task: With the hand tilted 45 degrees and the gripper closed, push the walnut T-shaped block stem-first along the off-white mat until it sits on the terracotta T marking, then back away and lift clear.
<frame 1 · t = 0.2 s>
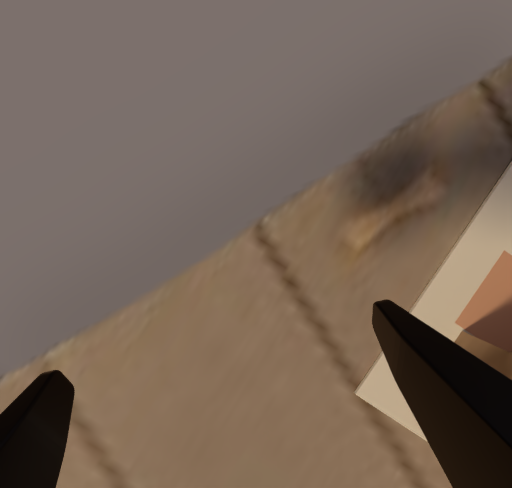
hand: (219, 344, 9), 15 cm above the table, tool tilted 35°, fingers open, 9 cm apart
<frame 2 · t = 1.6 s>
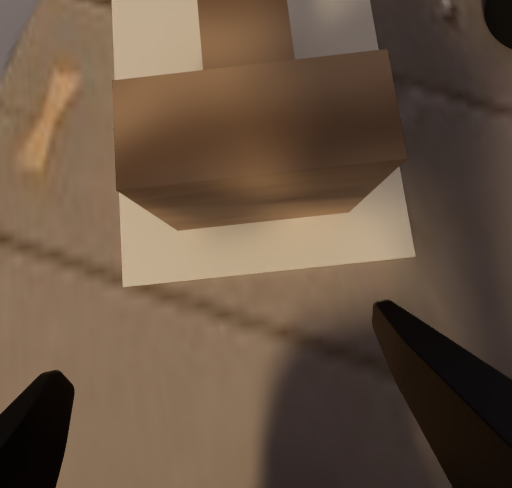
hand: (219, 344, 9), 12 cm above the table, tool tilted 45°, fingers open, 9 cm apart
t block: (252, 121, 23), resting on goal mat
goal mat: (244, 51, 24), on the table
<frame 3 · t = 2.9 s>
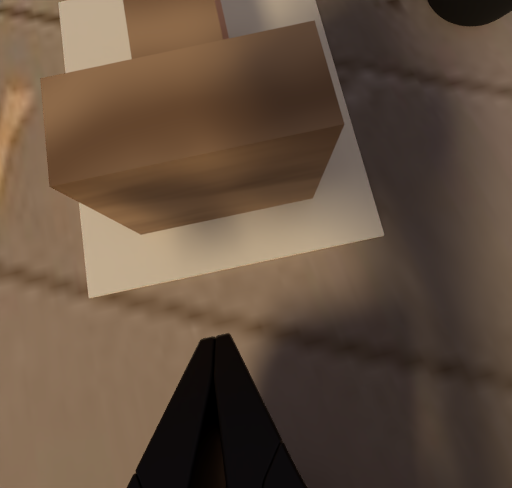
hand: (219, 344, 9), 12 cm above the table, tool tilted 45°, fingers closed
t block: (207, 119, 23), resting on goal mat
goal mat: (194, 52, 24), on the table
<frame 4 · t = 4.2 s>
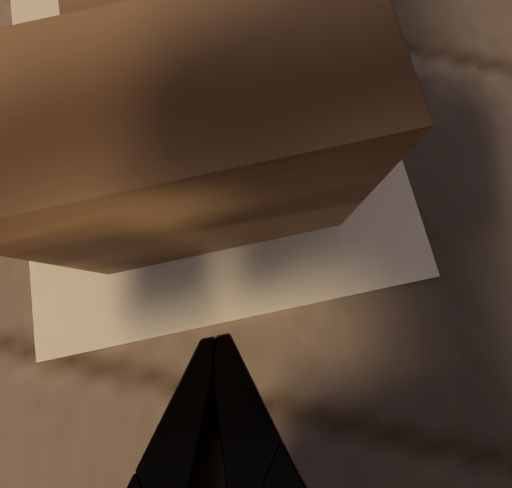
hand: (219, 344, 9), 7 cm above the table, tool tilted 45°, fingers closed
t block: (199, 118, 17), resting on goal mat
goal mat: (183, 32, 19), on the table
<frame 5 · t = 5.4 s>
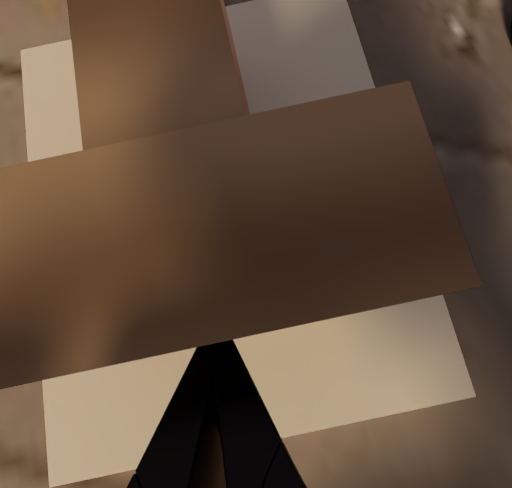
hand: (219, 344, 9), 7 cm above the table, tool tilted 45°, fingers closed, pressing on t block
t block: (212, 182, 17), resting on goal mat, touching gripper
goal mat: (201, 119, 18), on the table
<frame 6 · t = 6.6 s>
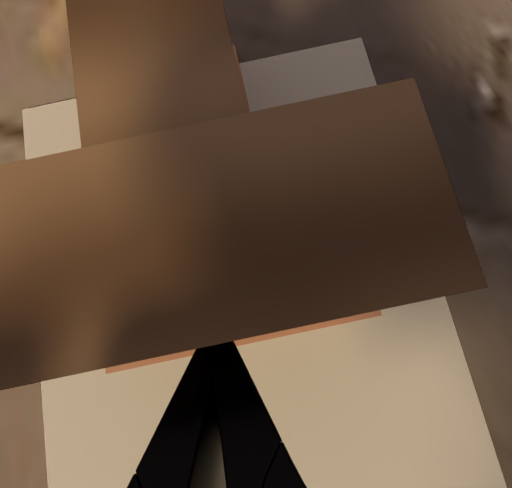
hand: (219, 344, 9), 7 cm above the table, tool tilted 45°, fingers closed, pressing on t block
t block: (213, 180, 17), resting on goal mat, touching gripper
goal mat: (214, 187, 17), on the table
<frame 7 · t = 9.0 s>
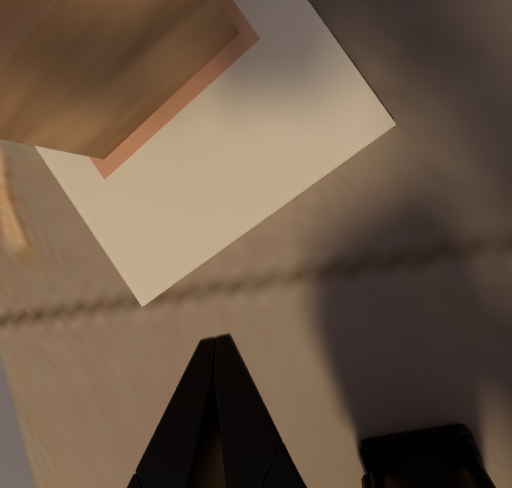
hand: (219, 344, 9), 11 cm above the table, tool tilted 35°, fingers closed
t block: (101, 7, 20), resting on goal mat
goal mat: (107, 14, 20), on the table
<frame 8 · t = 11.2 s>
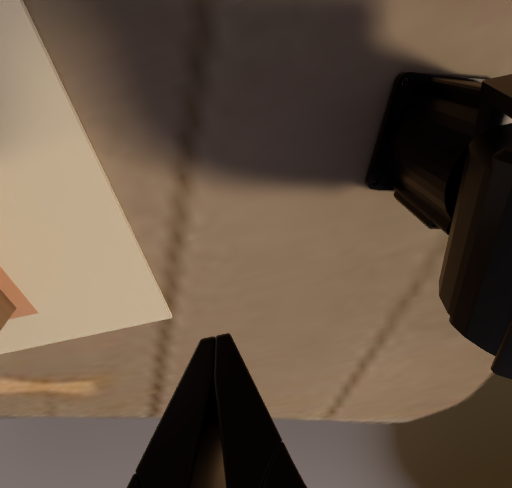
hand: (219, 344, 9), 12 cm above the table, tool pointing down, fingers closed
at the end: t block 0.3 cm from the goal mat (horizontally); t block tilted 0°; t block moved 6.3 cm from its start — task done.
